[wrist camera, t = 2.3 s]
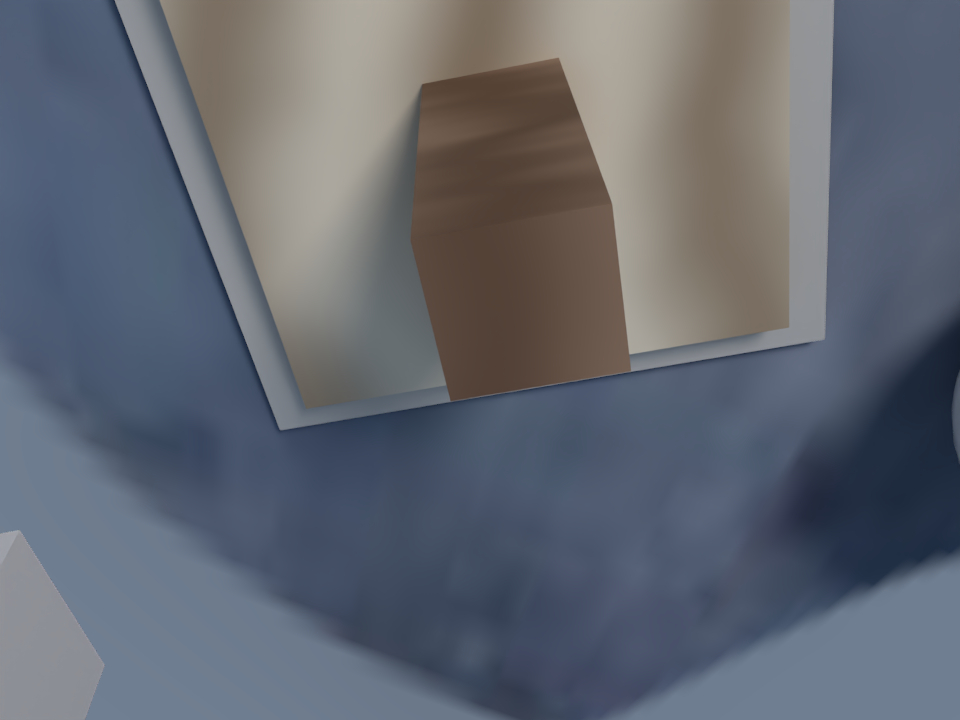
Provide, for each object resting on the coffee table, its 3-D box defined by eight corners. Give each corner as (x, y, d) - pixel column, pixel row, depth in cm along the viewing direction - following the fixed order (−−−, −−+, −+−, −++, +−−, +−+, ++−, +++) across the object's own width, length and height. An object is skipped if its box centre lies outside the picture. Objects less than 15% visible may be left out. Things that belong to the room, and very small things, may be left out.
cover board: (773, -264, 21) (1004, -277, 12) (777, 307, 29) (916, 540, 20) (131, -125, 22) (-72, -48, 13) (311, 387, 30) (256, 639, 21)
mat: (835, -360, 20) (844, -363, 20) (819, 331, 30) (825, 339, 29) (51, -185, 21) (43, -185, 21) (282, 421, 31) (280, 430, 31)
